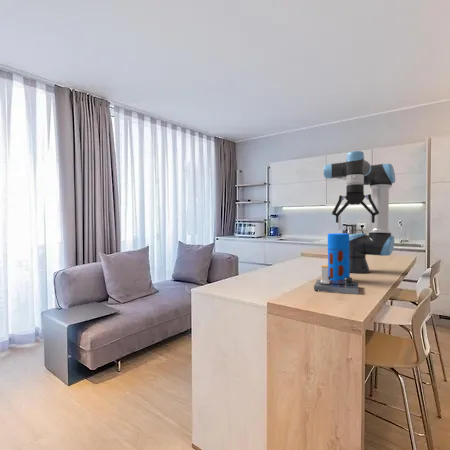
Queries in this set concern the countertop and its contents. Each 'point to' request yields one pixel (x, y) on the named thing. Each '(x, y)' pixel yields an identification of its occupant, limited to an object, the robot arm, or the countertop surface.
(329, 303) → the countertop surface
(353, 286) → the console
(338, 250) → the thermos
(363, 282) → the countertop surface
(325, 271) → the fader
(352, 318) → the countertop surface
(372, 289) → the countertop surface
